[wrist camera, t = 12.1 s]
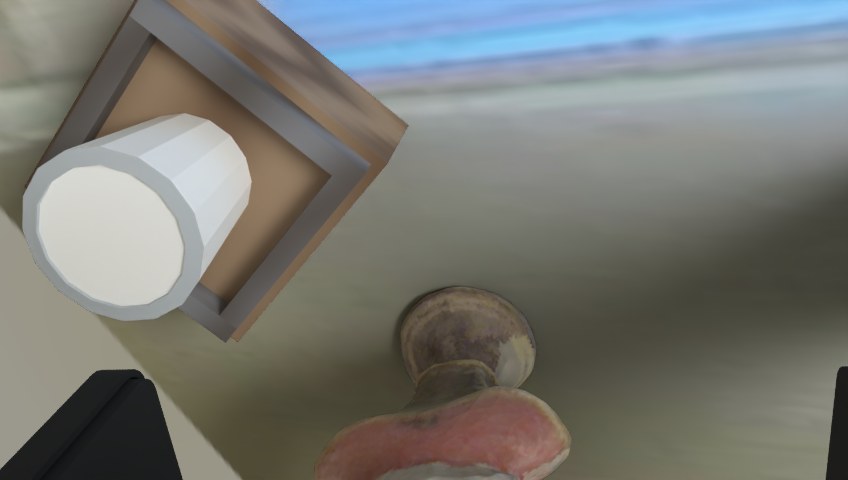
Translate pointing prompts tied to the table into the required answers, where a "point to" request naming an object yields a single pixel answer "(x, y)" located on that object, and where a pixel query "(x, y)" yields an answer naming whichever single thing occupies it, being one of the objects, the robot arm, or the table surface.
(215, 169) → the white short cylinder
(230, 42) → the display riser
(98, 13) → the table surface
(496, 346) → the decorative bust
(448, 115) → the table surface
